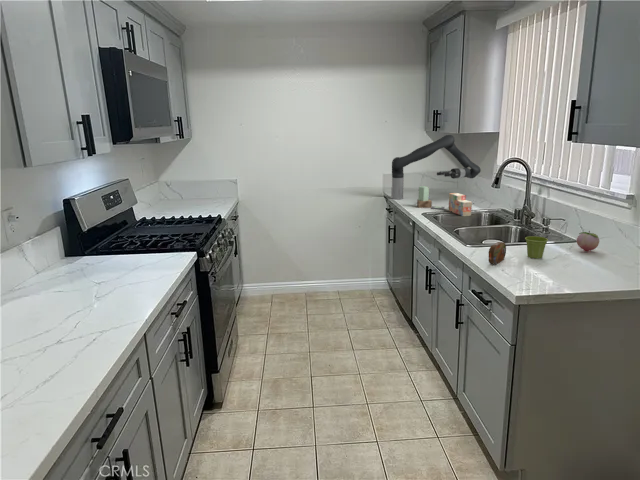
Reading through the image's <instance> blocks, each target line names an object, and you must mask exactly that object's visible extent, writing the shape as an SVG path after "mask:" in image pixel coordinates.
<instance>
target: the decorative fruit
mask: <svg viewBox="0 0 640 480" xmlns="http://www.w3.org/2000/svg"><path fill="white" fill-rule="evenodd" d="M576 244H577V245H578V247H579V248H580V249H582V250H583V251H585V252H590V251H593V250H596V248H598V246H599V244H600V238H599V236H598V235H597V234H596V233H593V232H592V233H591V231H590V230H589V231H588V232H587V231H582V232H580V233H578V236H577V237H576Z"/></svg>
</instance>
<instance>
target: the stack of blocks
mask: <svg viewBox="0 0 640 480" xmlns="http://www.w3.org/2000/svg"><path fill="white" fill-rule="evenodd" d="M472 206H473V201H470V200H467V195H465V194H462V193H458V192H453V193H452V192H451V193H448V211H449V212H451V211H452V212H451V213H454V214H456V215H458V216H461V217H469V216H471V215H472V208H473V207H472Z"/></svg>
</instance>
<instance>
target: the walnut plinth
mask: <svg viewBox="0 0 640 480" xmlns="http://www.w3.org/2000/svg"><path fill="white" fill-rule="evenodd" d="M416 201H417V202H416V206H417V208H419V209H431V207H432V205H433V204H432V203H433V201H432V200H431V199H428V201H419V200H418V199H417V200H416Z"/></svg>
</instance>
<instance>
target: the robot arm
mask: <svg viewBox="0 0 640 480" xmlns="http://www.w3.org/2000/svg"><path fill="white" fill-rule="evenodd" d="M455 140H456V139H455V137H454V135H451V134H446V135H444V136H443V137H440V138H439V139H437V140H435V141H433V142H429V143H428V144H425V145H423V146H420V147H419V148H416V149H415V150H413V151H412V152H410V153H408V154H406V155H404V156H398V157H394V158H393V159H392V162H391V180H392V181H391V193H390V194H391V196H390V197H391V198H390V199H392V200H402V199H404V180H405V179H404V177H405V175H404V168H405V167H406V166H408V165H410V164H413V163H416V162H418V161H421V160H423V159H427V158H428V157H430V156H432V155H433V154H435V153H436V152H437V151H439V150H440V149H443V148H444V149H445V150H446V151H448V152H449V153H450V154H451V155H452V156H453V157H454V158H455V159H456V160H457V161H458V163H459V164H460V165H461V166H462V168H461V167H458V168H457V167H455V168H451V170H447V171H446V170H445V171H444V170H443V171H437V172H436V175H437V176H443V177H445V178H446V177H449V178H451V179H463V178H468V179H474V178H476V177H477V176H478V175H479V174H480V173H481V171H482V170H481V168H480V166H479V165H478V164H476V163H474V162H473V161H472V160H471V159H470V158H469V157H468V156H467V155H466V154H465V153H464V152H462V151H461V150H460V149H459V148H458V147H457V146H456V144H455Z"/></svg>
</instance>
